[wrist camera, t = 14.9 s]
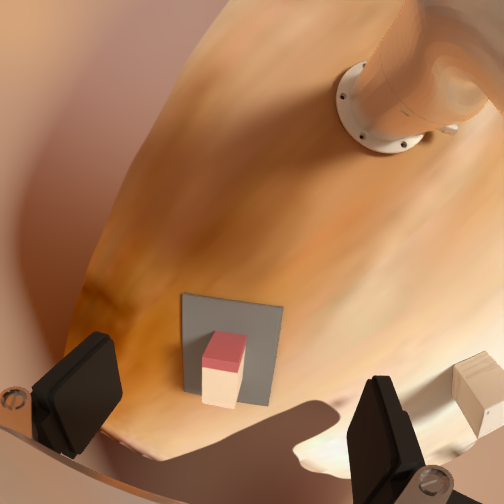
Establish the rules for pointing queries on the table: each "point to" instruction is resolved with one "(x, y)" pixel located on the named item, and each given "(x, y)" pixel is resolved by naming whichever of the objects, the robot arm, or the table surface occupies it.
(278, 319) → the mat
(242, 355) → the card box
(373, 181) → the table surface
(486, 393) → the supplement box
